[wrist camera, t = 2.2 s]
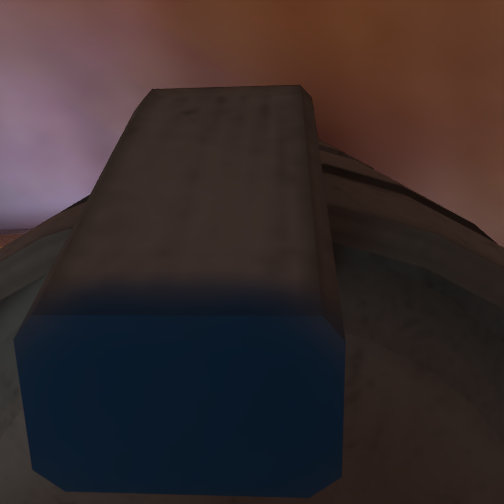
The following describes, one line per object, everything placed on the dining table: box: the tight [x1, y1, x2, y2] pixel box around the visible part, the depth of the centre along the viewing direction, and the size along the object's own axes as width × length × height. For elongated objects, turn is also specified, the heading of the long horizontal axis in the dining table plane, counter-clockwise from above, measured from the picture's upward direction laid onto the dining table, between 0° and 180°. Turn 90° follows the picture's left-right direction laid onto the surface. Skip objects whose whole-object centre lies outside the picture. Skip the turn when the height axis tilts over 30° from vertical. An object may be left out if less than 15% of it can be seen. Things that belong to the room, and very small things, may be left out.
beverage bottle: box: [0, 85, 504, 504], centre depth 15 cm, size 10×13×25 cm
